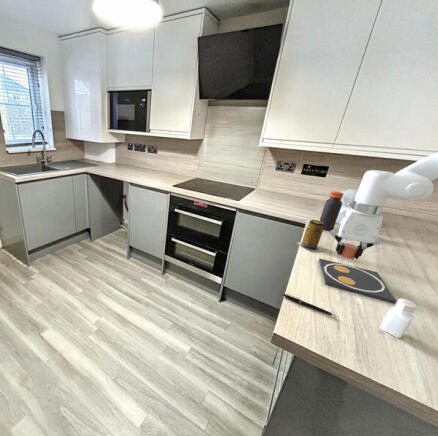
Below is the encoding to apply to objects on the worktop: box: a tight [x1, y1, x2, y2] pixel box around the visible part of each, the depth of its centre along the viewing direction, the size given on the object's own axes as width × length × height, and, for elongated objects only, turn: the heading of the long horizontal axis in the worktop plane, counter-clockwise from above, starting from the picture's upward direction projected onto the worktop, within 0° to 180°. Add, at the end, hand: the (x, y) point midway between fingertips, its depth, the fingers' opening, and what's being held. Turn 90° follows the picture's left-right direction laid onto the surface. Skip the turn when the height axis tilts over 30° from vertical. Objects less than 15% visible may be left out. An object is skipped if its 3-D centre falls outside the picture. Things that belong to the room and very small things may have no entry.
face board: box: [318, 257, 397, 304], centre depth 83 cm, size 18×18×1 cm
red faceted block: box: [340, 242, 358, 260], centre depth 85 cm, size 4×4×4 cm
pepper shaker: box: [380, 298, 418, 339], centre depth 60 cm, size 4×4×10 cm
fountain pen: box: [282, 293, 339, 318], centre depth 69 cm, size 14×1×2 cm, turn 52°
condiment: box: [297, 219, 326, 253], centre depth 103 cm, size 7×8×12 cm
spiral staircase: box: [335, 188, 358, 225], centre depth 135 cm, size 18×18×25 cm
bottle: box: [319, 190, 343, 232], centre depth 123 cm, size 7×7×20 cm
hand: (347, 254), depth 85 cm, fingers closed on red faceted block, 4 cm apart
